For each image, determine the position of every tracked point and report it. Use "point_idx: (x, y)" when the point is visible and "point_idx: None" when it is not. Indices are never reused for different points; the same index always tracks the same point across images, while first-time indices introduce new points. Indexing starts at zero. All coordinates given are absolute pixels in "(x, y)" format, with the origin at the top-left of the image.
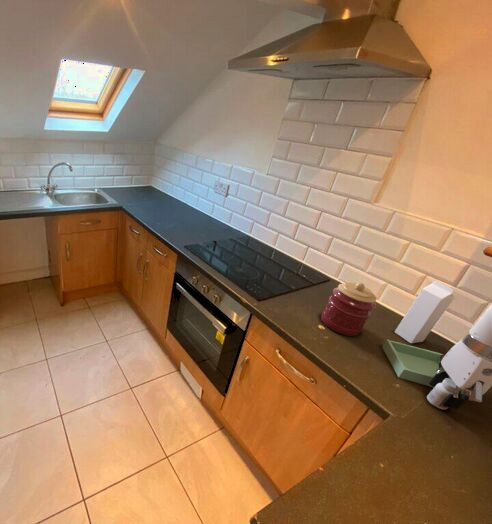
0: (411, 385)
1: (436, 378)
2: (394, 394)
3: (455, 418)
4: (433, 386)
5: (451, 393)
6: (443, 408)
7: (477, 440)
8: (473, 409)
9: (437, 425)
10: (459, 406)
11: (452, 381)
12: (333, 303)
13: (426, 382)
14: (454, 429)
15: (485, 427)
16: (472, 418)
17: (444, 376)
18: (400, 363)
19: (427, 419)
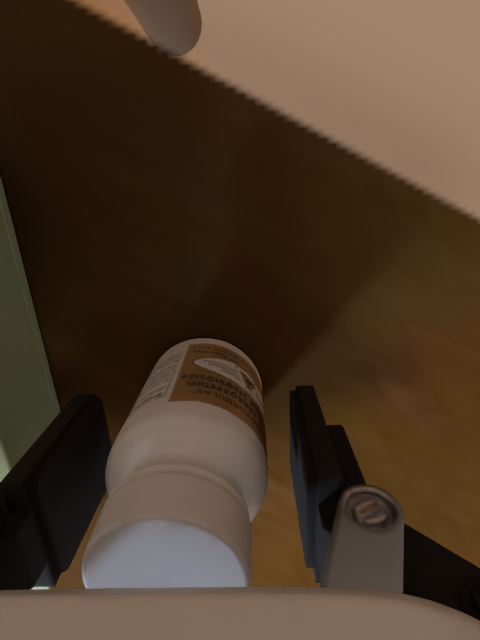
0: None
1: (80, 542)
2: (257, 570)
3: (304, 322)
4: (40, 354)
5: (248, 502)
6: (260, 382)
7: (458, 264)
8: (127, 130)
9: (410, 449)
10: (318, 407)
11: (127, 573)
12: None
13: (42, 409)
14: (408, 369)
15: (304, 131)
16: (246, 193)
17: (36, 546)
18: None
19: (382, 481)
